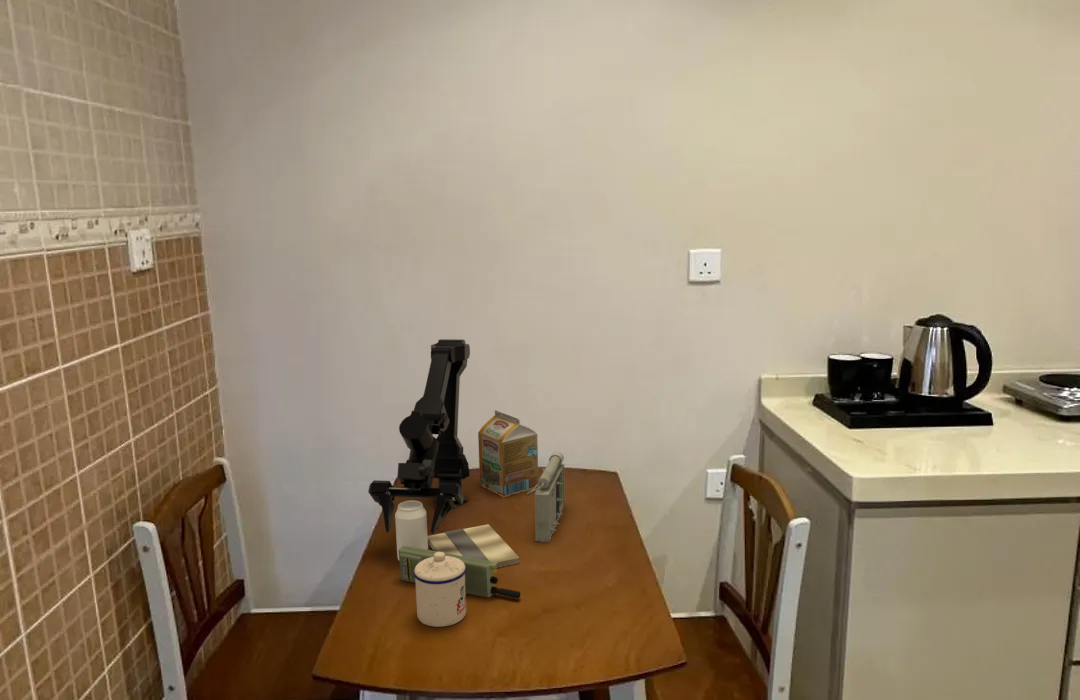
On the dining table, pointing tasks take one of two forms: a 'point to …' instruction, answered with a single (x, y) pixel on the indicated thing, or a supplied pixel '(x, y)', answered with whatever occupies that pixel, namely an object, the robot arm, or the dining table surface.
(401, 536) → the beverage can
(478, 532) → the subfloor board
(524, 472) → the milk carton
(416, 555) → the handheld radio
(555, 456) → the geiger counter
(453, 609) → the teacup with lid
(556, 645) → the dining table surface
